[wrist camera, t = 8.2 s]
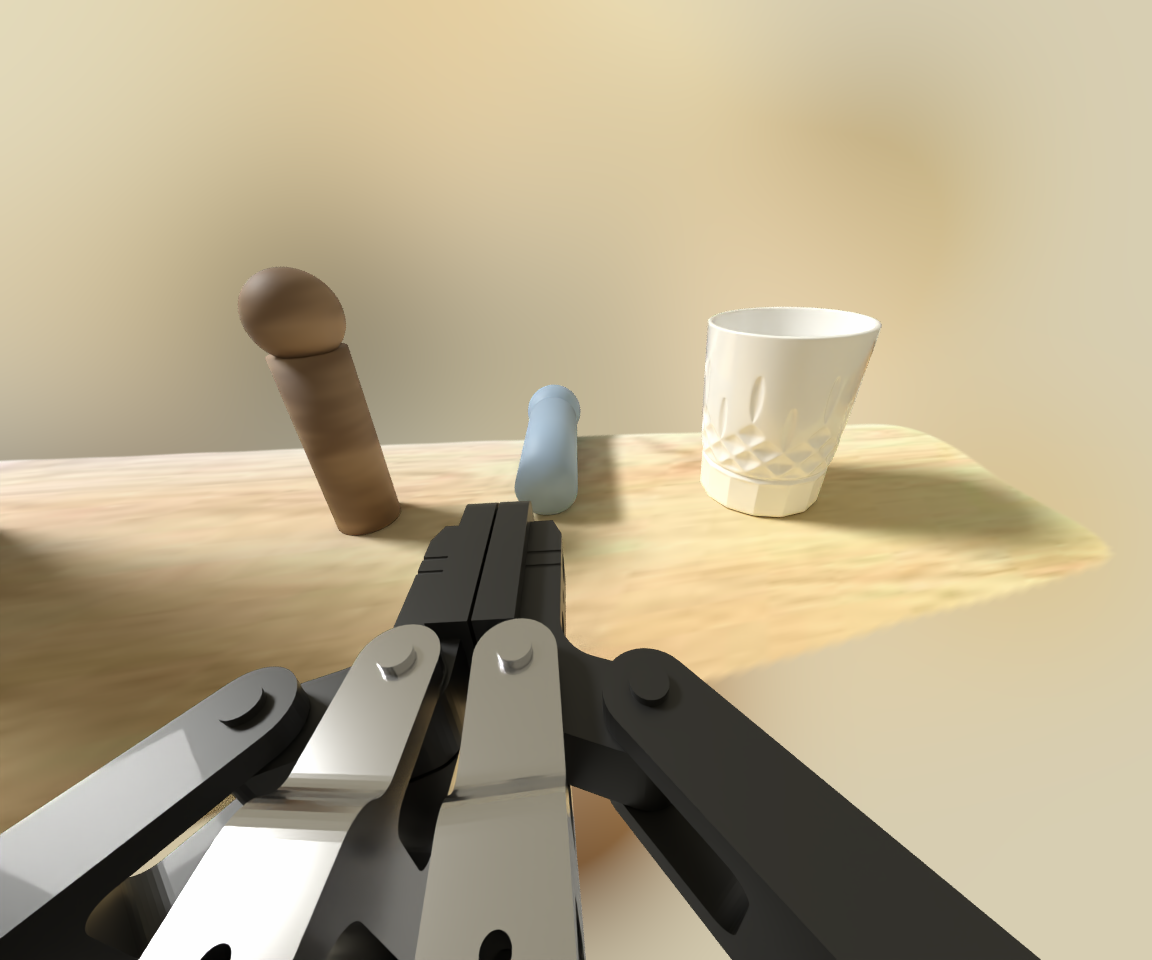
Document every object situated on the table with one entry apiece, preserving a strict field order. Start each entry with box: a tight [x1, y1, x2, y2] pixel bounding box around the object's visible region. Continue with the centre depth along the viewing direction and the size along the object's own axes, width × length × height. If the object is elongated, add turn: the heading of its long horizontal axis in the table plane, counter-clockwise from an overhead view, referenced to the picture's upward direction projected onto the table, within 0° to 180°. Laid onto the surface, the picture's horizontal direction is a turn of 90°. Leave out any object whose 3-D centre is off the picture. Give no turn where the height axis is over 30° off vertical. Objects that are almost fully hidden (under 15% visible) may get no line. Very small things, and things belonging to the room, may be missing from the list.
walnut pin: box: [238, 267, 401, 535], centre depth 22 cm, size 4×4×14 cm
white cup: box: [701, 307, 882, 517], centre depth 24 cm, size 8×8×10 cm
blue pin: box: [515, 385, 580, 515], centre depth 30 cm, size 4×4×14 cm
